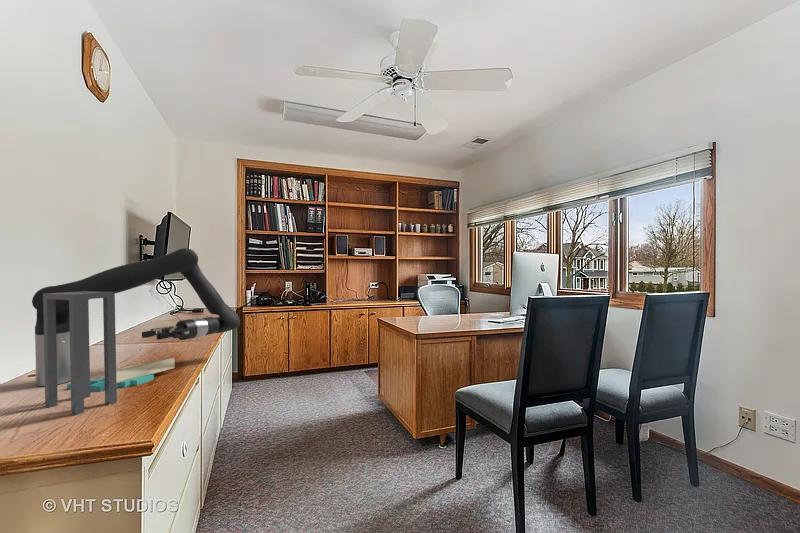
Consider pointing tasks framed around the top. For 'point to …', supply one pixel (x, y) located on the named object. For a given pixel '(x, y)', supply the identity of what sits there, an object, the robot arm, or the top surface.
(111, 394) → the stand
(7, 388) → the top surface
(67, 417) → the top surface
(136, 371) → the block
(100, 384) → the alien figure
